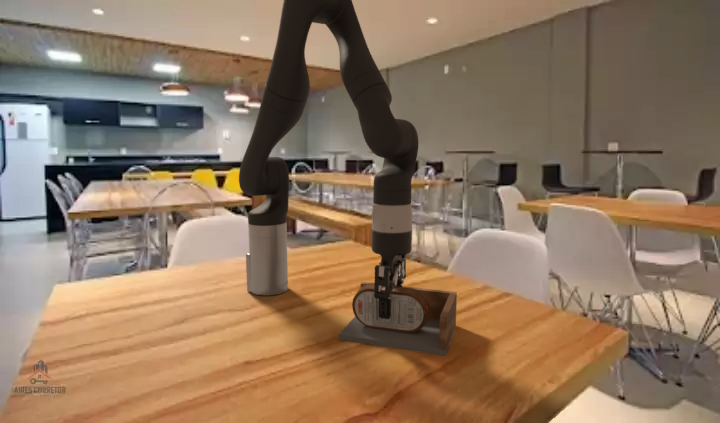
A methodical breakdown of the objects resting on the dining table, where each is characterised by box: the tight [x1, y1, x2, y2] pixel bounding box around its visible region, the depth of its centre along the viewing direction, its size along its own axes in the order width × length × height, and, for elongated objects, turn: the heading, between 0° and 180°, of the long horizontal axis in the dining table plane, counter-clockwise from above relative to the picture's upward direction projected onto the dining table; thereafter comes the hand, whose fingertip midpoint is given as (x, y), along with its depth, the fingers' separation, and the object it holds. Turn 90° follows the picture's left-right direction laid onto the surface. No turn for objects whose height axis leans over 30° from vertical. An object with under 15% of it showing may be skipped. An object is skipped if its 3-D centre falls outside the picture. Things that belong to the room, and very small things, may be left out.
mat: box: [337, 316, 457, 357], centre depth 86 cm, size 20×14×1 cm
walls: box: [360, 281, 458, 350], centre depth 86 cm, size 20×14×6 cm
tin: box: [351, 284, 430, 333], centre depth 85 cm, size 15×3×8 cm, turn 71°
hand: (390, 310), depth 85 cm, fingers open, 8 cm apart
